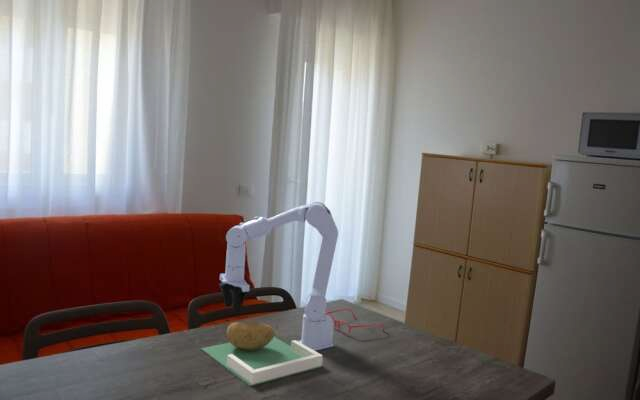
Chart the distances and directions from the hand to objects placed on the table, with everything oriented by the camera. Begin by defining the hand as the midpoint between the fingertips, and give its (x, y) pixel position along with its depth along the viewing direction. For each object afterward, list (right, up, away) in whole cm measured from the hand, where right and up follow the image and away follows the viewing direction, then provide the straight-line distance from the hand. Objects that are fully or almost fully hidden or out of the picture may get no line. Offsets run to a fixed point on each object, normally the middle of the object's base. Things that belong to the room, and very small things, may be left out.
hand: (232, 308), depth 163 cm
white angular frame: (+14, -13, -17) cm, 26 cm away
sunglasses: (+38, -11, +19) cm, 44 cm away
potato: (+6, -11, -7) cm, 14 cm away
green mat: (+10, -12, -12) cm, 19 cm away
